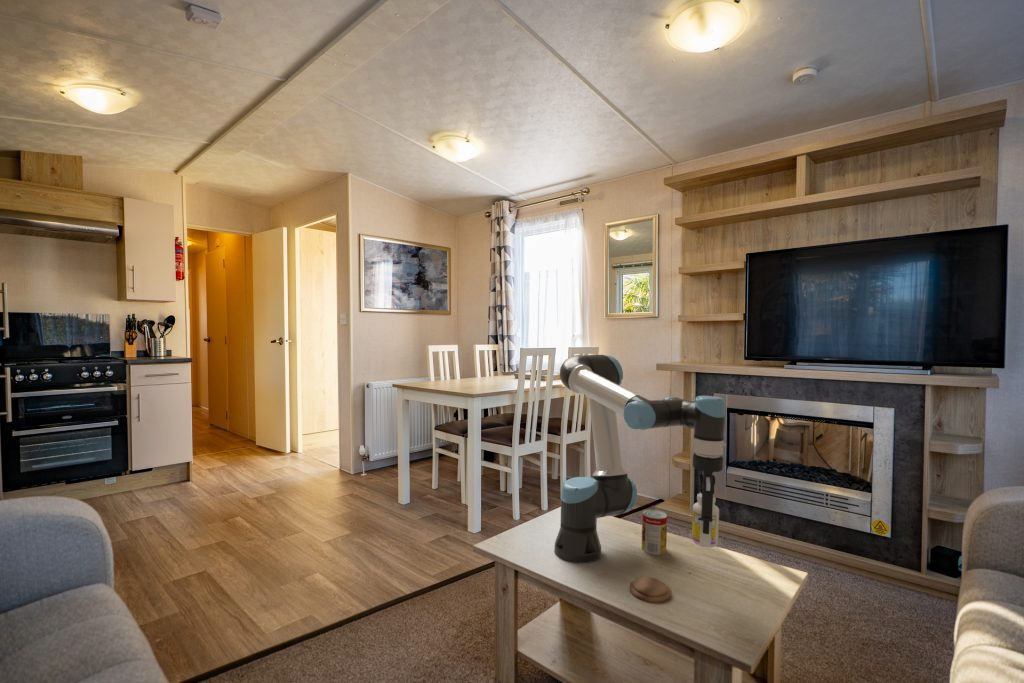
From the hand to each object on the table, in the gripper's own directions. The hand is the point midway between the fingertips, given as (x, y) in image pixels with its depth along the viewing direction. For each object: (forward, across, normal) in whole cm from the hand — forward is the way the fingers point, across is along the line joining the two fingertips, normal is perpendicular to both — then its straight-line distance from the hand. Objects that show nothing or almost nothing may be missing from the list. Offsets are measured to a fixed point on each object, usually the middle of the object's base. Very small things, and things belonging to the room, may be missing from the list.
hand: (704, 539), depth 135 cm
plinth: (+17, -1, +13) cm, 21 cm away
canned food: (+17, +28, +14) cm, 36 cm away
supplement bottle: (+1, 0, 0) cm, 1 cm away
